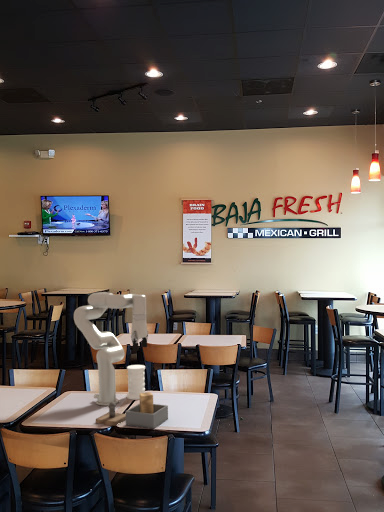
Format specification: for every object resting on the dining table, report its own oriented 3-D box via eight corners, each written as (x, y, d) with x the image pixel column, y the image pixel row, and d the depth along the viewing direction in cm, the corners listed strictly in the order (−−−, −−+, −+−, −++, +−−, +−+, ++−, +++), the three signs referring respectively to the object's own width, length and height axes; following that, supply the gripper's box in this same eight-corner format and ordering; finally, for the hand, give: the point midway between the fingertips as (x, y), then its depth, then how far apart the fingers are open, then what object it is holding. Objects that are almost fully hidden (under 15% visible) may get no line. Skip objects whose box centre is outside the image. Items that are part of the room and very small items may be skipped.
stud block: (95, 423, 247) (95, 404, 247) (108, 415, 258) (108, 398, 258) (116, 425, 242) (115, 406, 242) (128, 418, 253) (128, 400, 253)
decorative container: (122, 398, 290) (122, 367, 290) (134, 393, 300) (133, 364, 300) (139, 400, 284) (138, 369, 284) (150, 395, 295) (149, 365, 295)
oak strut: (142, 422, 243) (141, 396, 243) (139, 418, 249) (139, 393, 249) (153, 421, 245) (153, 395, 245) (151, 417, 250) (150, 392, 250)
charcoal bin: (125, 425, 242) (125, 411, 242) (141, 415, 256) (141, 402, 256) (153, 429, 236) (153, 414, 236) (168, 419, 250) (167, 405, 250)
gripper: (141, 315, 277) (141, 345, 277) (125, 319, 261) (125, 351, 261) (153, 315, 274) (153, 346, 274) (137, 319, 258) (138, 351, 258)
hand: (140, 348), depth 267 cm, fingers open, 9 cm apart
